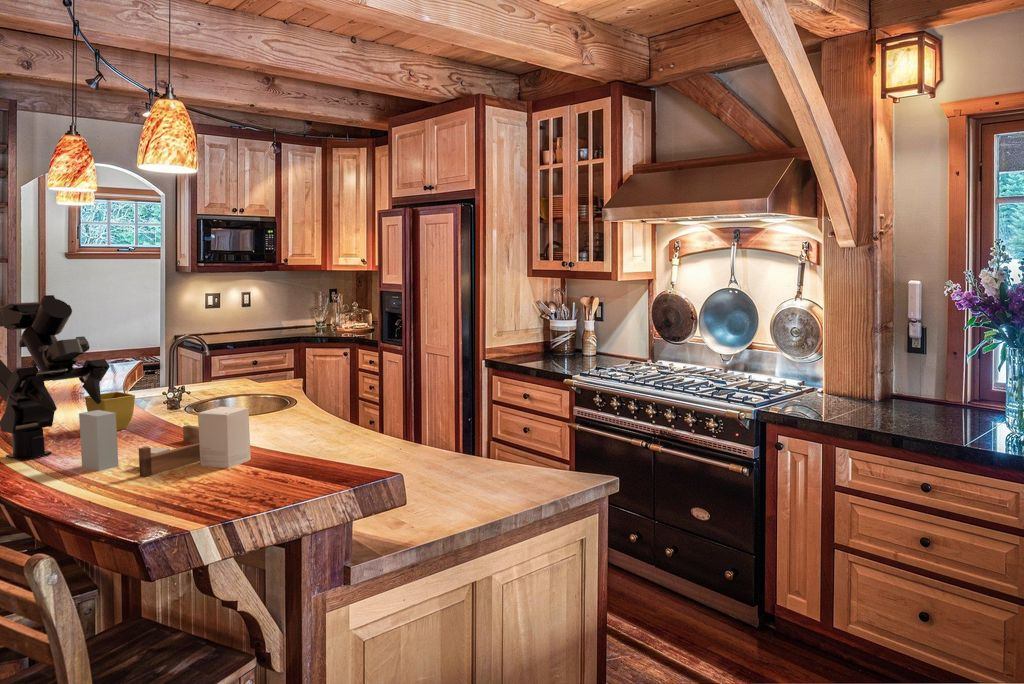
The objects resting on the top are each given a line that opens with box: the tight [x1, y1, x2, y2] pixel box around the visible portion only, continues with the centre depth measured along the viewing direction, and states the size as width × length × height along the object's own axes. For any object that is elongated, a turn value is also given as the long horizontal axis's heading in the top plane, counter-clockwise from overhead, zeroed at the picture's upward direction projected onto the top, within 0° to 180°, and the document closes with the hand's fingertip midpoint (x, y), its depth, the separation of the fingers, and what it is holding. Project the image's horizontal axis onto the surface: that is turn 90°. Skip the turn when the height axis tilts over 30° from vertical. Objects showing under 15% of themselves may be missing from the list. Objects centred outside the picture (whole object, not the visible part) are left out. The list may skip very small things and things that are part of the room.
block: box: [78, 410, 119, 472], centre depth 151 cm, size 6×4×12 cm, turn 60°
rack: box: [138, 424, 200, 478], centre depth 159 cm, size 18×26×7 cm
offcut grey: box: [150, 446, 171, 455], centre depth 152 cm, size 4×4×2 cm
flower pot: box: [84, 391, 136, 431], centre depth 191 cm, size 9×9×9 cm
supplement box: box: [197, 406, 252, 469], centre depth 155 cm, size 7×7×13 cm
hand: (77, 406), depth 154 cm, fingers open, 9 cm apart
